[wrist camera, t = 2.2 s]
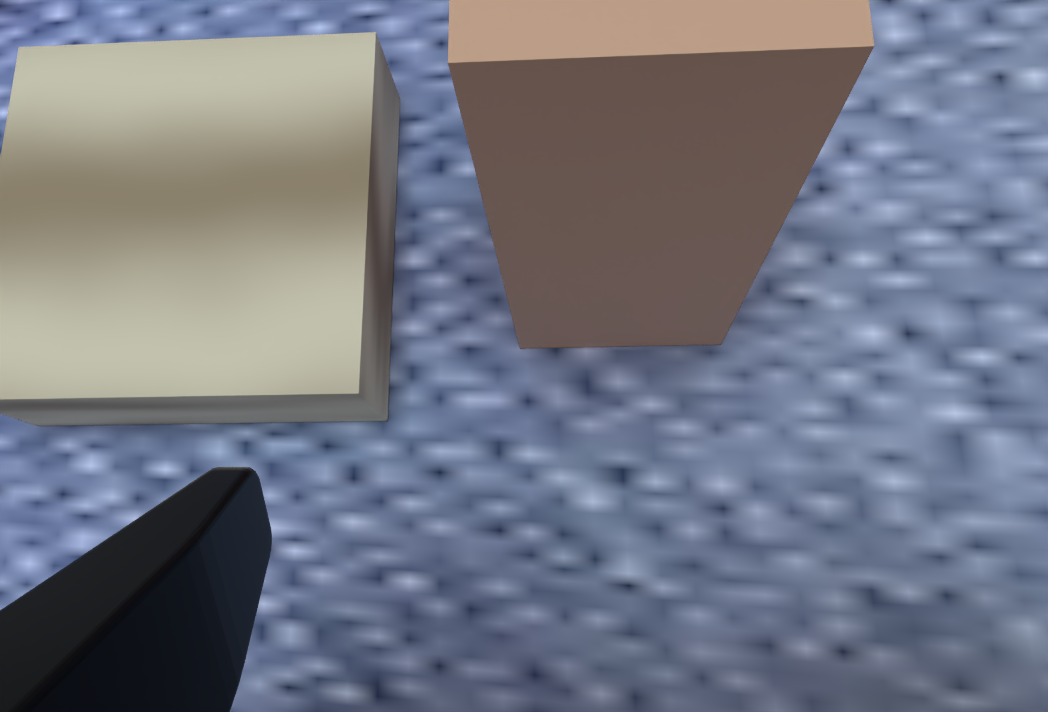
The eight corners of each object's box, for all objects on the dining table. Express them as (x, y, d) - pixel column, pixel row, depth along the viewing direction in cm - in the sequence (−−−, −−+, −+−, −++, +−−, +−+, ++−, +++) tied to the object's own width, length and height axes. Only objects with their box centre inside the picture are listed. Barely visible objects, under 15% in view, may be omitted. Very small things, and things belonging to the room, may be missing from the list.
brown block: (720, 344, 23) (874, 46, 11) (519, 348, 23) (448, 63, 11) (709, 162, 24) (834, -287, 12) (519, 168, 24) (455, -264, 12)
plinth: (387, 420, 23) (358, 393, 20) (37, 426, 23) (-40, 400, 20) (400, 98, 25) (376, 31, 22) (82, 110, 26) (19, 47, 23)
